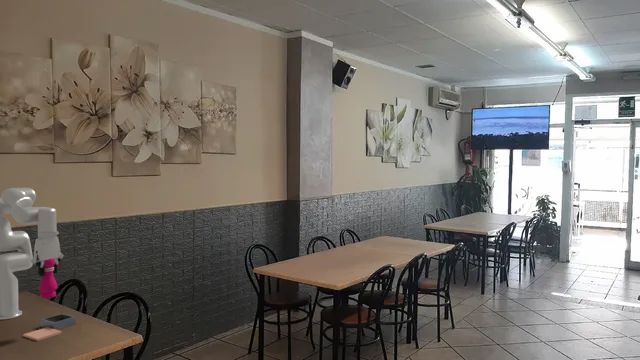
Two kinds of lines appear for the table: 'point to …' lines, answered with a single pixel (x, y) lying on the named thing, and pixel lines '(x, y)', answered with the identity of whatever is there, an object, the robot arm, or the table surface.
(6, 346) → the table surface
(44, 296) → the pepper mill
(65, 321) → the holder sleeve
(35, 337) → the plate
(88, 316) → the table surface
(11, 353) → the table surface
